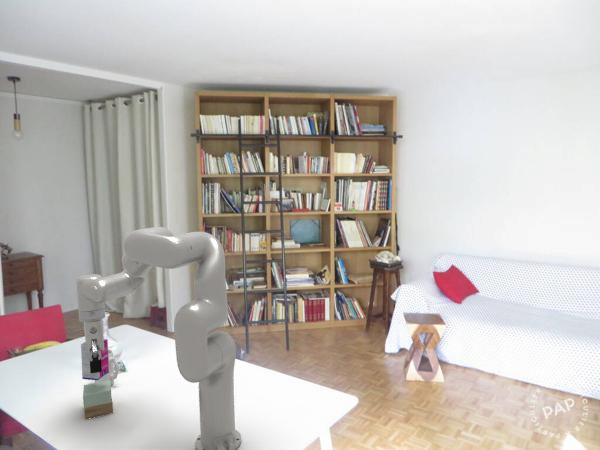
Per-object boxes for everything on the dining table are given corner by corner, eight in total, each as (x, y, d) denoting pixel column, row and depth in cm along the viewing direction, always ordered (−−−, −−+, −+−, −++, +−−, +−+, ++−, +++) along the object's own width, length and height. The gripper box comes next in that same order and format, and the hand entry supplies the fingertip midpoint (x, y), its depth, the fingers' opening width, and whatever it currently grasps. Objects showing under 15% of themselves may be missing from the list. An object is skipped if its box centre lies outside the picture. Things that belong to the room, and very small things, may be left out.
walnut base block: (113, 414, 139) (112, 402, 138) (85, 420, 135) (84, 408, 135) (111, 403, 146) (110, 391, 145) (84, 409, 142) (84, 397, 142)
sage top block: (111, 402, 138) (110, 390, 138) (83, 408, 135) (82, 395, 134) (111, 391, 145) (110, 380, 145) (84, 396, 142) (83, 385, 142)
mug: (90, 387, 157) (88, 355, 155) (104, 379, 163) (102, 348, 162) (112, 391, 153) (110, 358, 152) (125, 383, 159) (124, 351, 158)
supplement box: (98, 380, 136) (96, 345, 134) (81, 379, 137) (79, 344, 136) (110, 372, 141) (107, 338, 140) (94, 371, 142) (91, 337, 141)
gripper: (106, 319, 131) (110, 375, 133) (103, 305, 146) (106, 355, 148) (79, 323, 128) (83, 380, 129) (78, 308, 143) (82, 359, 145)
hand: (95, 366), depth 139 cm, fingers closed on supplement box, 7 cm apart
